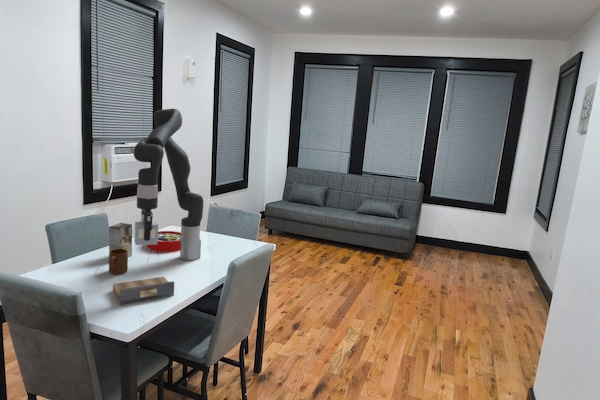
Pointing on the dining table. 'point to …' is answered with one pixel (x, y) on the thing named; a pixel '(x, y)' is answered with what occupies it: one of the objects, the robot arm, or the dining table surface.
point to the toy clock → (167, 242)
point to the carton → (140, 234)
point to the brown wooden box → (143, 290)
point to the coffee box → (121, 237)
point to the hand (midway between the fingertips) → (146, 237)
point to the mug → (118, 261)
